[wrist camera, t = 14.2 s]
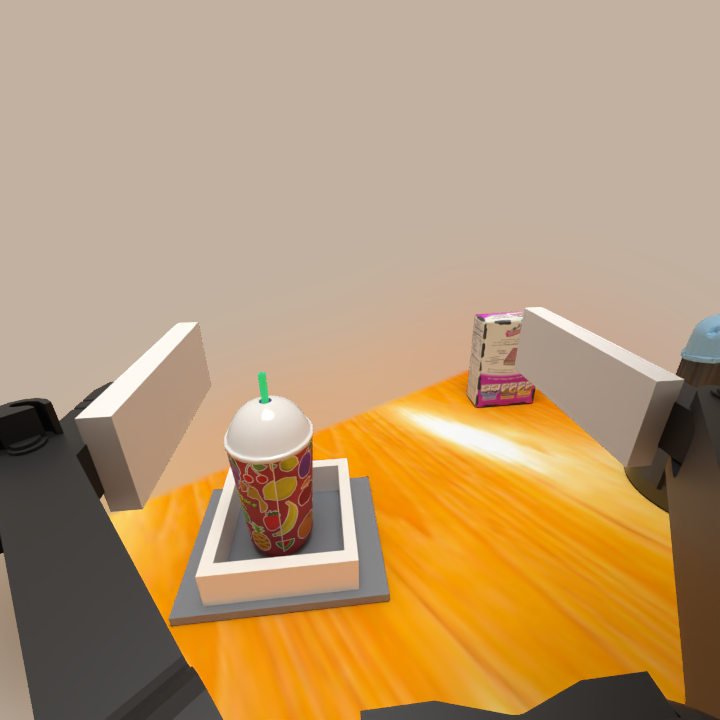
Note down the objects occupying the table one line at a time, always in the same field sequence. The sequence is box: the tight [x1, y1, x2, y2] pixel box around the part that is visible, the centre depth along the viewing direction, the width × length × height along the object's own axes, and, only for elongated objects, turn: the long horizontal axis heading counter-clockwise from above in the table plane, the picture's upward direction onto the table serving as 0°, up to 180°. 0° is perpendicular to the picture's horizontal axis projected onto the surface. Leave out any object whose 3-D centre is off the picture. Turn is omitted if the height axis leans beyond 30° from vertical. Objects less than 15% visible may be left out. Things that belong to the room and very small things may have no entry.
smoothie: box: [223, 372, 313, 557], centre depth 37 cm, size 8×8×20 cm
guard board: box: [169, 458, 390, 626], centre depth 41 cm, size 20×16×5 cm
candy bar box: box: [467, 312, 536, 408], centre depth 66 cm, size 11×5×16 cm, turn 97°
